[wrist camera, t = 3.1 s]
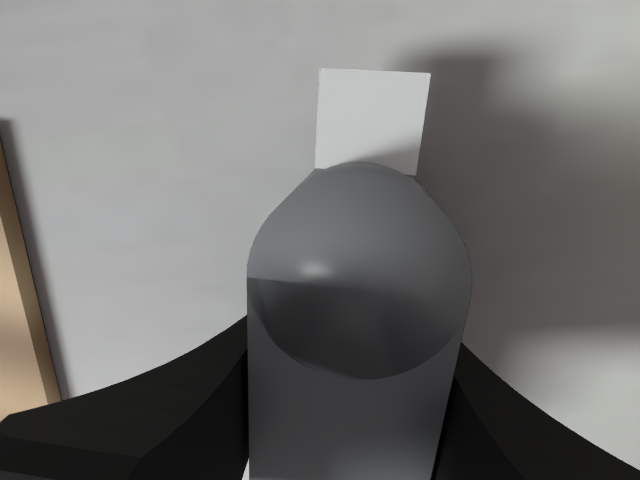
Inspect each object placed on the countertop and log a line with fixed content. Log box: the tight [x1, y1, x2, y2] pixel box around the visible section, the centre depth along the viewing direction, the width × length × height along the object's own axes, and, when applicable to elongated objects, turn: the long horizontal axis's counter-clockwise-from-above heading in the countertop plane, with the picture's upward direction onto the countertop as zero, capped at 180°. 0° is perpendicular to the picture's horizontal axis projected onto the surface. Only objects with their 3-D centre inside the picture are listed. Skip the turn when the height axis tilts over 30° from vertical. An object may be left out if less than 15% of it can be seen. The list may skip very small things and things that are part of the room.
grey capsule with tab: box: [247, 68, 472, 480], centre depth 9 cm, size 13×4×5 cm, turn 177°
